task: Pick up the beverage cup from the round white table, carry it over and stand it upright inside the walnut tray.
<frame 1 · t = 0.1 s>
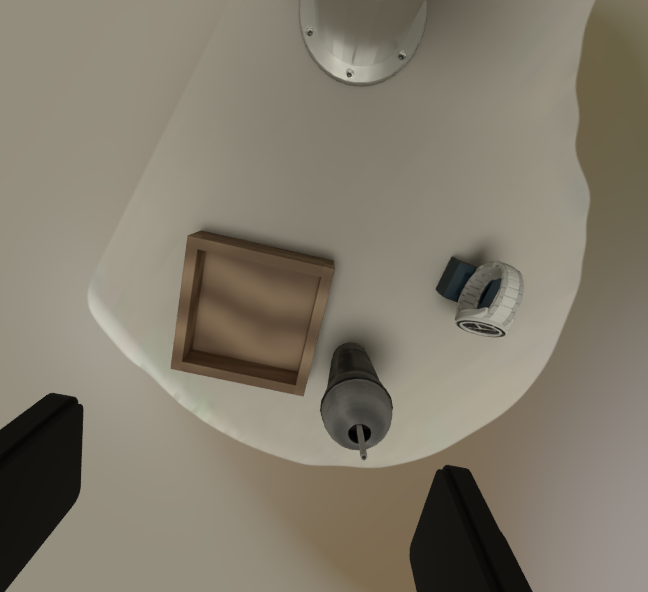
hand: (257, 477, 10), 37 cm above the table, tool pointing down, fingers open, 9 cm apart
walnut tray: (256, 308, 47), on the table
watch: (463, 282, 46), on the table
beverage cup: (349, 358, 49), on the table
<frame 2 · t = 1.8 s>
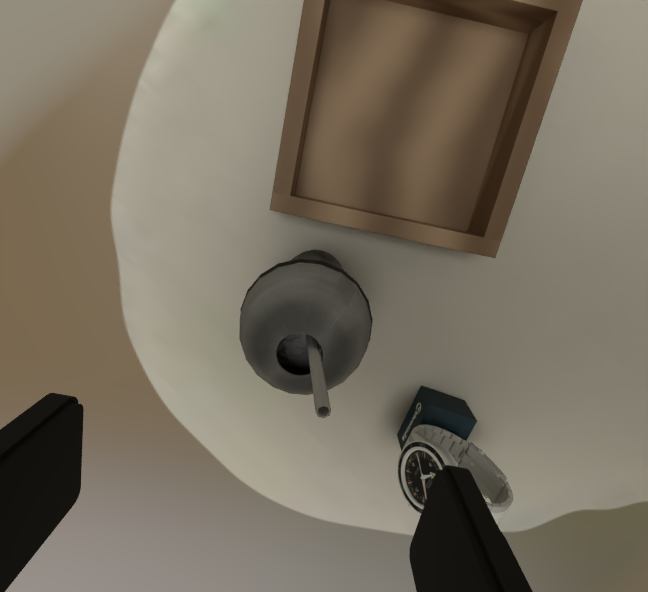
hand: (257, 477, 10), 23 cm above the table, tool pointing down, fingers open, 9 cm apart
walnut tray: (402, 121, 28), on the table
watch: (428, 416, 36), on the table
beverage cup: (315, 275, 32), on the table
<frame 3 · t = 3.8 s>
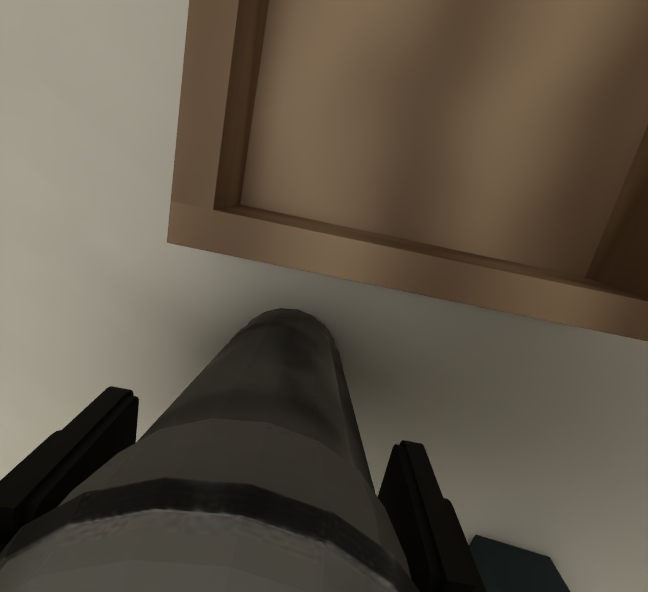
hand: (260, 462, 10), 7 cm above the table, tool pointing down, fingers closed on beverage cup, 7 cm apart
walnut tray: (461, 51, 14), on the table
watch: (485, 579, 21), on the table
beverage cup: (286, 354, 17), on the table, touching gripper
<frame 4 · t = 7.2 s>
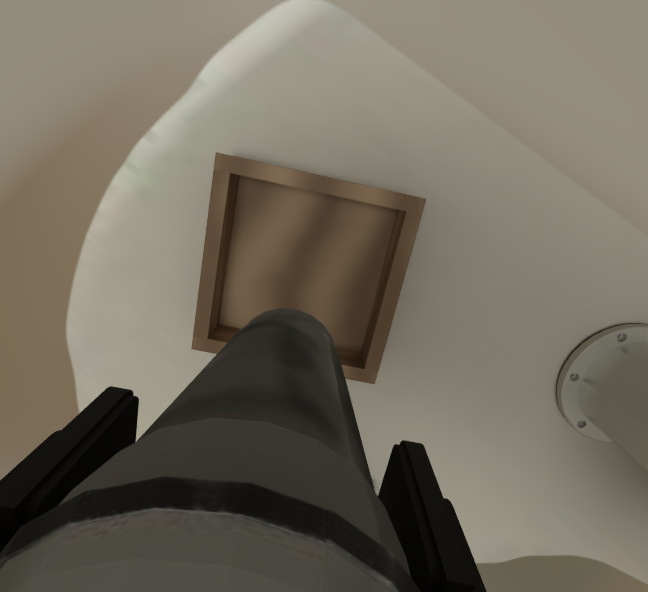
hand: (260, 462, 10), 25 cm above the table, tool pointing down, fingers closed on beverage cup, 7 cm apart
walnut tray: (304, 266, 35), on the table
beverage cup: (286, 353, 17), point 18 cm above the table, touching gripper
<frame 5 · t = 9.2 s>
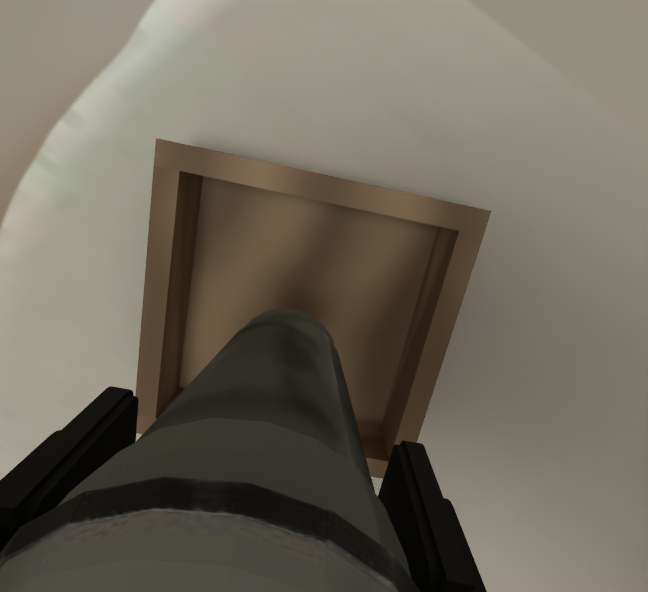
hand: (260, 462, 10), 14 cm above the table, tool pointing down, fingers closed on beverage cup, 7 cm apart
walnut tray: (301, 306, 24), on the table
beverage cup: (286, 353, 17), point 7 cm above the table, touching gripper
when the fingers open (9 cm above the table, at t = 10.9 s): beverage cup stays where it is, resting on walnut tray.
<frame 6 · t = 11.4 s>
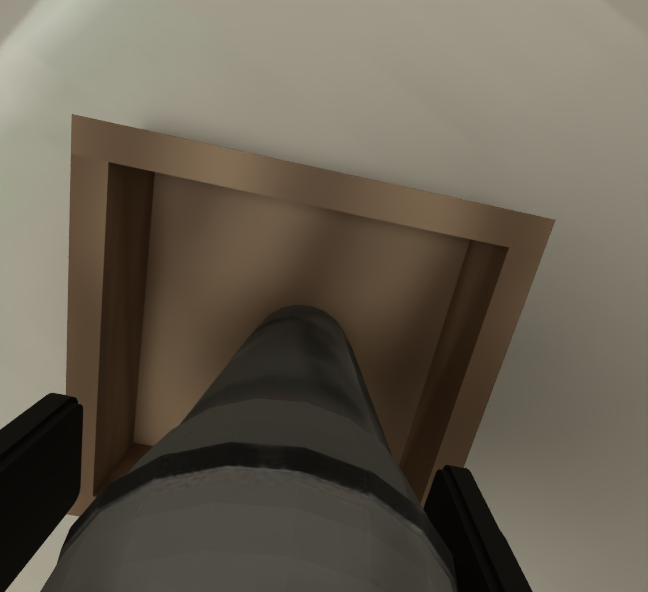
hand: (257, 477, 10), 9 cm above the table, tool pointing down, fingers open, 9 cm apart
walnut tray: (290, 339, 19), on the table
beverage cup: (300, 348, 18), point 1 cm above the table, touching walnut tray
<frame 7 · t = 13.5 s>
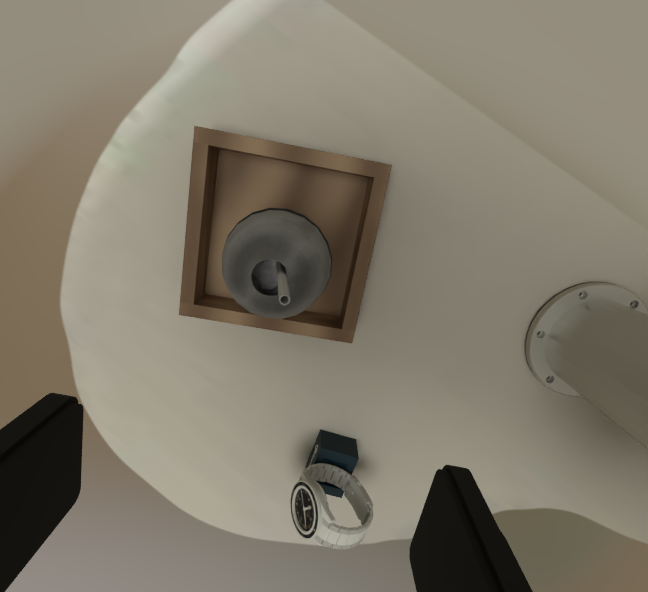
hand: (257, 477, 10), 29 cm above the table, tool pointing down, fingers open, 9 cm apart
walnut tray: (284, 236, 37), on the table
watch: (329, 452, 44), on the table
beverage cup: (289, 239, 36), point 1 cm above the table, touching walnut tray
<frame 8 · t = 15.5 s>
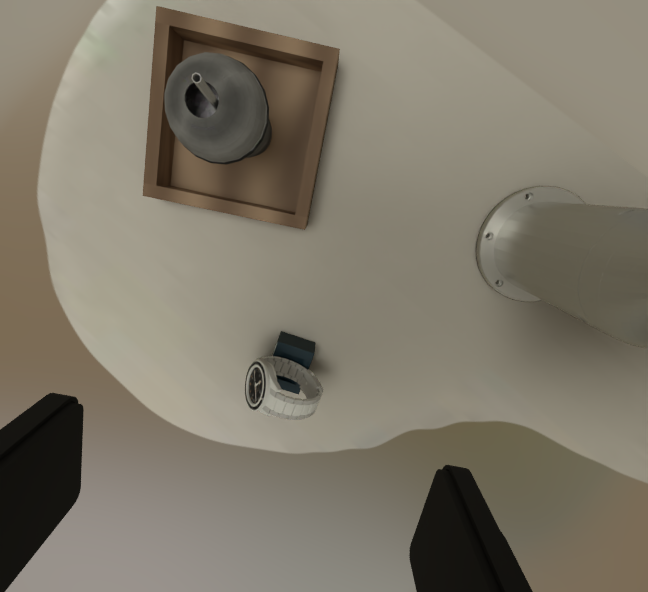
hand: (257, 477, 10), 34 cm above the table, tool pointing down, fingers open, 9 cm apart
walnut tray: (246, 132, 39), on the table
watch: (290, 356, 47), on the table
beverage cup: (250, 133, 39), point 1 cm above the table, touching walnut tray
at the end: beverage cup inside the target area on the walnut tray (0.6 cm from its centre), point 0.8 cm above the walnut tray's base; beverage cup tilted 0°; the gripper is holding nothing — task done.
